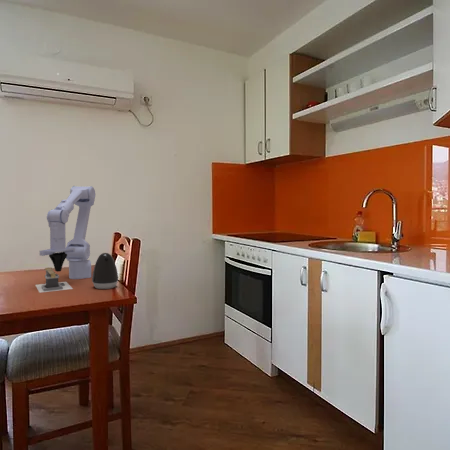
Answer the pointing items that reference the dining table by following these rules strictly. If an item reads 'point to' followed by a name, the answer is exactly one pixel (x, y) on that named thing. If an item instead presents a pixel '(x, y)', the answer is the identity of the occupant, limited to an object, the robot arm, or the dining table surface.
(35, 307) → the dining table surface
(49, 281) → the plug
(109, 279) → the black rounded cone
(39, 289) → the lever mounting base
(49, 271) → the lever handle
